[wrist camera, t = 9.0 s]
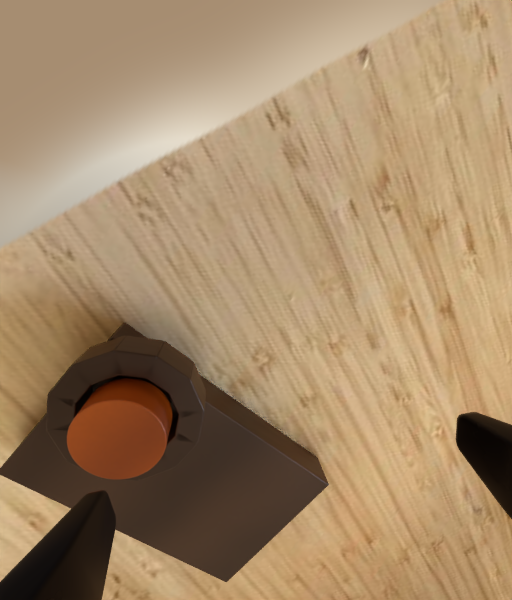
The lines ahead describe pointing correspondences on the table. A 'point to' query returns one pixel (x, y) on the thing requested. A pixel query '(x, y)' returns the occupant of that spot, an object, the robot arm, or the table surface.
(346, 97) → the table surface
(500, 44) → the table surface
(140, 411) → the button
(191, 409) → the button block
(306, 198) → the table surface
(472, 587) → the table surface
